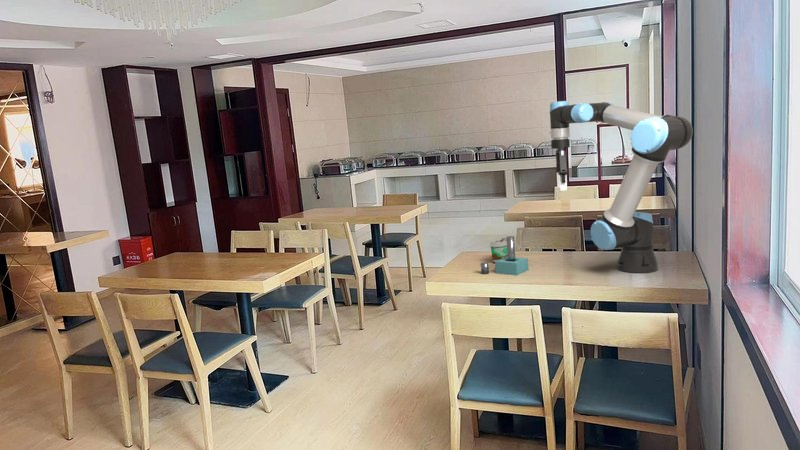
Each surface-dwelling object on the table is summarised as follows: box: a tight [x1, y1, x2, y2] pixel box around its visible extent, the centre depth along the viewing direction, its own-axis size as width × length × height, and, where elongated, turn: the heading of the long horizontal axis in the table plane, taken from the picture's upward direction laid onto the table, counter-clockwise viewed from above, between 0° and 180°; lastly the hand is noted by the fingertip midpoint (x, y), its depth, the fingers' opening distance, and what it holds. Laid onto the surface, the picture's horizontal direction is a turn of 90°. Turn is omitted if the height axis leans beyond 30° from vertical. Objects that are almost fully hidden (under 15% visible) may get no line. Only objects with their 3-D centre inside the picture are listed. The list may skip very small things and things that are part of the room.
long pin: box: [506, 235, 516, 262], centre depth 235 cm, size 3×3×15 cm
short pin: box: [480, 261, 490, 275], centre depth 237 cm, size 3×3×4 cm
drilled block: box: [494, 256, 530, 276], centre depth 236 cm, size 10×10×5 cm
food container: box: [489, 237, 508, 264], centre depth 255 cm, size 12×6×10 cm, turn 143°
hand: (562, 189), depth 238 cm, fingers open, 13 cm apart
